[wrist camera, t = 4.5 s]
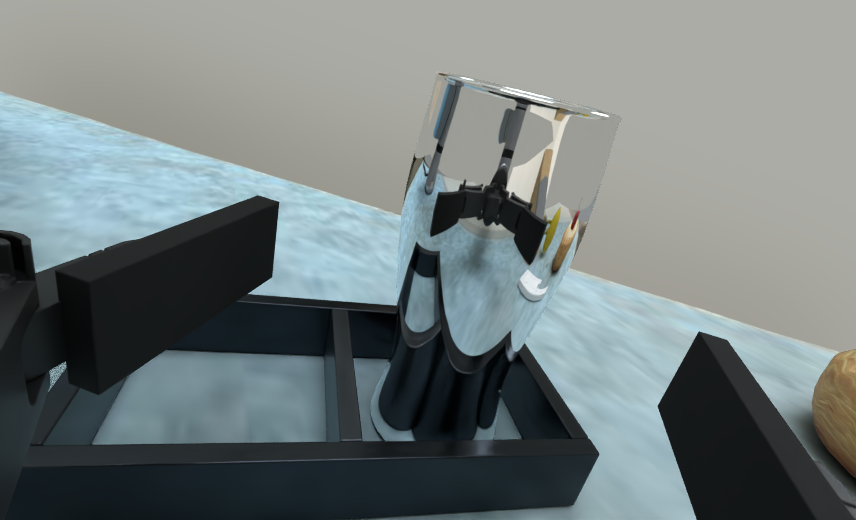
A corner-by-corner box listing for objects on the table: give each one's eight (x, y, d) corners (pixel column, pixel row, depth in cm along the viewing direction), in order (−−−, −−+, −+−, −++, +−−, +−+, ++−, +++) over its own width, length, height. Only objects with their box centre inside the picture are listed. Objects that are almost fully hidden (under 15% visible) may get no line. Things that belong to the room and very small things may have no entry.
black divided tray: (129, 337, 22) (126, 284, 21) (491, 355, 28) (505, 313, 26) (6, 541, 13) (-11, 468, 12) (573, 505, 19) (600, 453, 18)
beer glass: (368, 480, 18) (463, 80, 12) (354, 366, 24) (413, 63, 18) (525, 474, 20) (675, 130, 14) (476, 370, 26) (565, 100, 20)
